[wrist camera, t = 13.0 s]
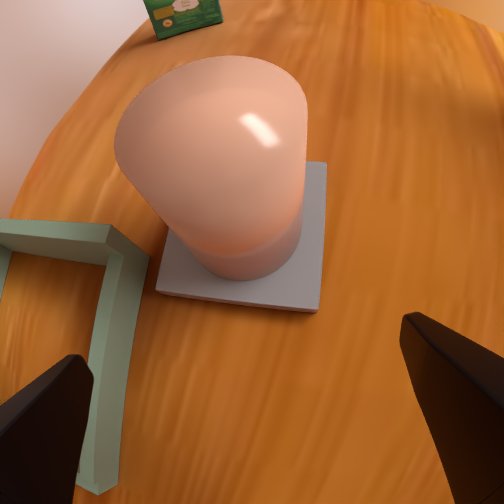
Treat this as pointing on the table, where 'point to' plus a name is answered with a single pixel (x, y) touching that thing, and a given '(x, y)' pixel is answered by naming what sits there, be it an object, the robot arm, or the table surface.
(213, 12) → the coffee box
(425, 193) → the table surface
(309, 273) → the slate tile
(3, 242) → the frame
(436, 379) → the robot arm
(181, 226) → the pink tall rounded piece
